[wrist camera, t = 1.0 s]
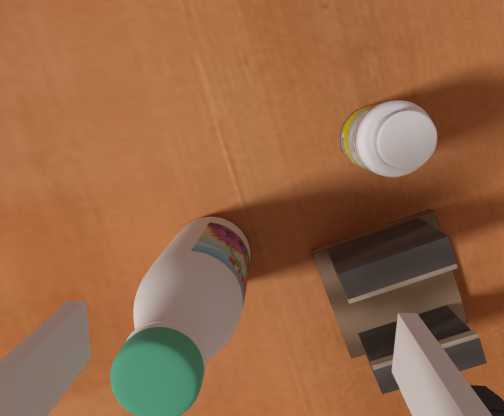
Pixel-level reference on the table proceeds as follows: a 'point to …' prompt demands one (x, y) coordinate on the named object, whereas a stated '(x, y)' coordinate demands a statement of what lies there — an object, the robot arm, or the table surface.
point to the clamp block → (397, 292)
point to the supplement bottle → (389, 138)
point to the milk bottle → (182, 318)
